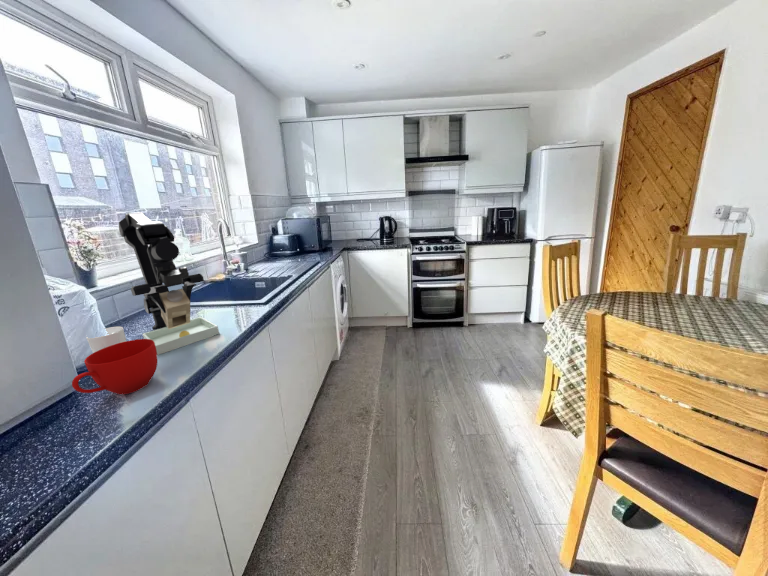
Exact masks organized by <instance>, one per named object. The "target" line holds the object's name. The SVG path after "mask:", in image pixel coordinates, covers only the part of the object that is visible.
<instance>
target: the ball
mask: <svg viewBox="0 0 768 576" xmlns="http://www.w3.org/2000/svg"><path fill="white" fill-rule="evenodd" d="M189 334H190V333H189V332H188V331H182V332H181V333H180V334H179V337H183V336H186V335H189Z"/></svg>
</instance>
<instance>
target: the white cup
mask: <svg viewBox="0 0 768 576" xmlns="http://www.w3.org/2000/svg"><path fill="white" fill-rule="evenodd" d="M104 329H106V331H107V332H108V333H107V334H109V335H106V336H101V337H95V338H88V337H86V336H85V338H86V340H87V343H88V345H89V347H90V349H91V352H92V354H93V353H94V352H96V351H99V350H101V349H103V348H106V347H108V346H111V345H115V344H118V343H122V342H126V341H127V337H126V333H125V330H124V327H123V326H111V327H106V328H104Z"/></svg>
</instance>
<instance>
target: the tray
mask: <svg viewBox="0 0 768 576" xmlns="http://www.w3.org/2000/svg"><path fill="white" fill-rule="evenodd" d="M219 330H220V329H219V326H218V325H217V324H215V323H213V322H211V321H209V320H208V319H206V318H204V317H202V316H199V317H195V318H192V319H190V323H188V324H185V325H182V326H178V327H175V328H172V329H168V327H167V326H166V327H160V328H156V329H154V330H151V331H148V332H144V333H142V337H143V339H150V340H153V341H154V343H155V346H156V351H157V356H159V355H162V354H164V353H168V352H170V351H174V350H176V349H179V348H183V347H185V346H188V345H191V344H194V343H196V342H199V341H202V340H205V339H209V338H212V337H214V335H215V336H216V334H218V335H220V331H219ZM182 331H188V332H189V333H190V334H189V335H186V336H183V337H179V334H180V333H181V332H182Z"/></svg>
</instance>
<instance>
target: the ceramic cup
mask: <svg viewBox="0 0 768 576" xmlns="http://www.w3.org/2000/svg"><path fill="white" fill-rule="evenodd" d="M84 364H85V368H86V369H87V371H86V372H82V373H80V374H78V375H76V376H75V377H74V378H73V379H72V381H71V386H72V388H73V389H74V390H75V391H77V392H78V393H81V394H90V393H98V392H101V391H104V390H106V391H108V392H110V393H114V394H116V395H118V396H119V395H123V396H124V395H129V394H132V393H134V392H138V391H139V390H142V389H143V388H145V387H146V386H148V385H149V383H150V381H151V380H152V379H153V377H154V375H155V372H156V370H157V368H158V355H157V351H156V346H155V343H154V341H153V340H150V339H144V338H140V339H139V338H138V339H132V340H126V342H122V343H118V344H115V345H111V346H108V347H106V348H103V349H101V350H99V351H96V352H94V353H93V352H92V353H90V354H89V355H88V356H87V357H86V358H85V359H84ZM86 376H89V377H91V378H92V379H93V381H94V382H95V384H97V385H98V386H99V387H95V388H91V389H90V388H89V389H85V388H82V387H80V385H79V383H80V382H79V381H80V380H81V379H82V378H85V377H86Z"/></svg>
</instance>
